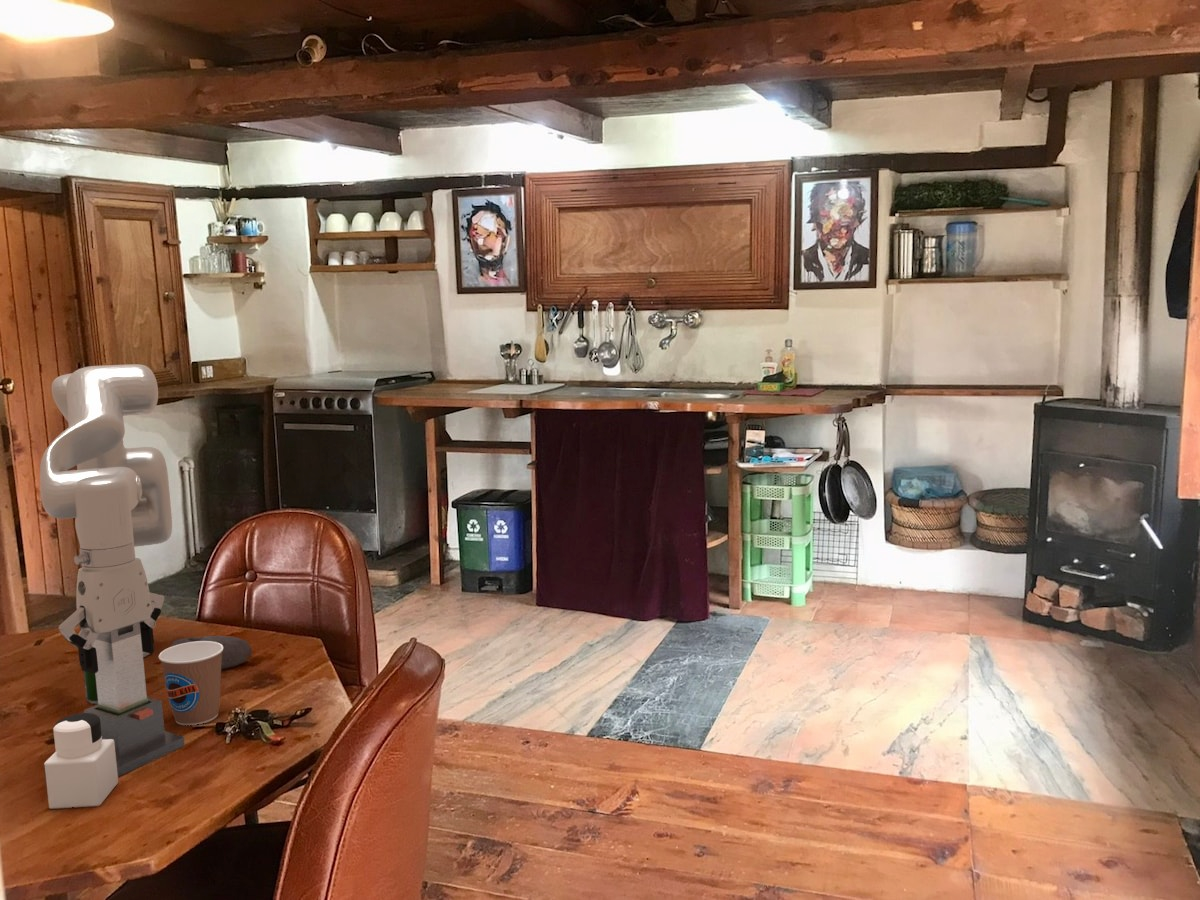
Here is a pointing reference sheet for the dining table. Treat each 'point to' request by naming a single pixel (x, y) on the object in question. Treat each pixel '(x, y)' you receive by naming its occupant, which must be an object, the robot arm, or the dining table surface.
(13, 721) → the dining table surface
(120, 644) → the jack column
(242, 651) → the perforated stone tool
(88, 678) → the beer can
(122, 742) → the base
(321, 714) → the dining table surface
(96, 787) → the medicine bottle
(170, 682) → the coffee cup
